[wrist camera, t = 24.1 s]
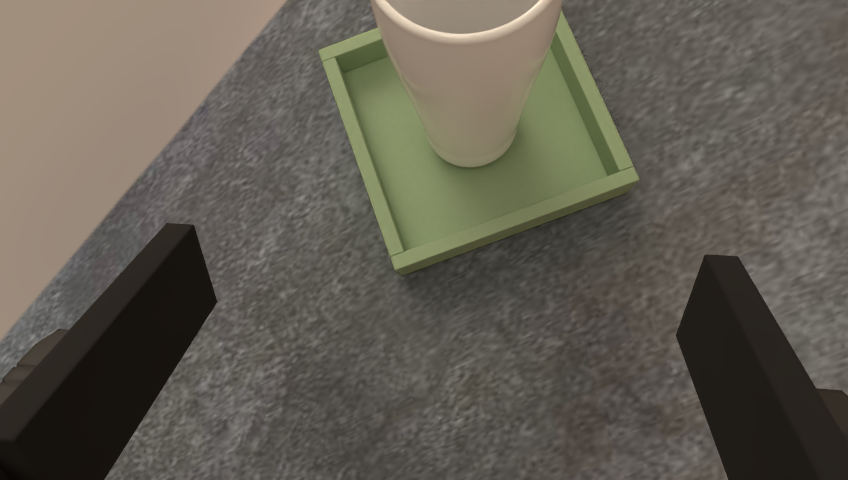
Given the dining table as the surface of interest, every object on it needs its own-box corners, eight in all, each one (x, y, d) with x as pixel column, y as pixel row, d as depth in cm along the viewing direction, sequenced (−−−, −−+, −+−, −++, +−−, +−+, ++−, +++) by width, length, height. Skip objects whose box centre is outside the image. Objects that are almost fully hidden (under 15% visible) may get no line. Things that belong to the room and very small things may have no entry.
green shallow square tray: (329, 71, 34) (317, 50, 31) (536, -8, 33) (541, -36, 31) (401, 276, 31) (394, 270, 29) (626, 192, 31) (640, 179, 28)
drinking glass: (553, 113, 31) (620, -86, 17) (483, 206, 31) (488, 85, 16) (458, 52, 32) (443, -184, 18) (389, 139, 32) (314, -29, 17)
